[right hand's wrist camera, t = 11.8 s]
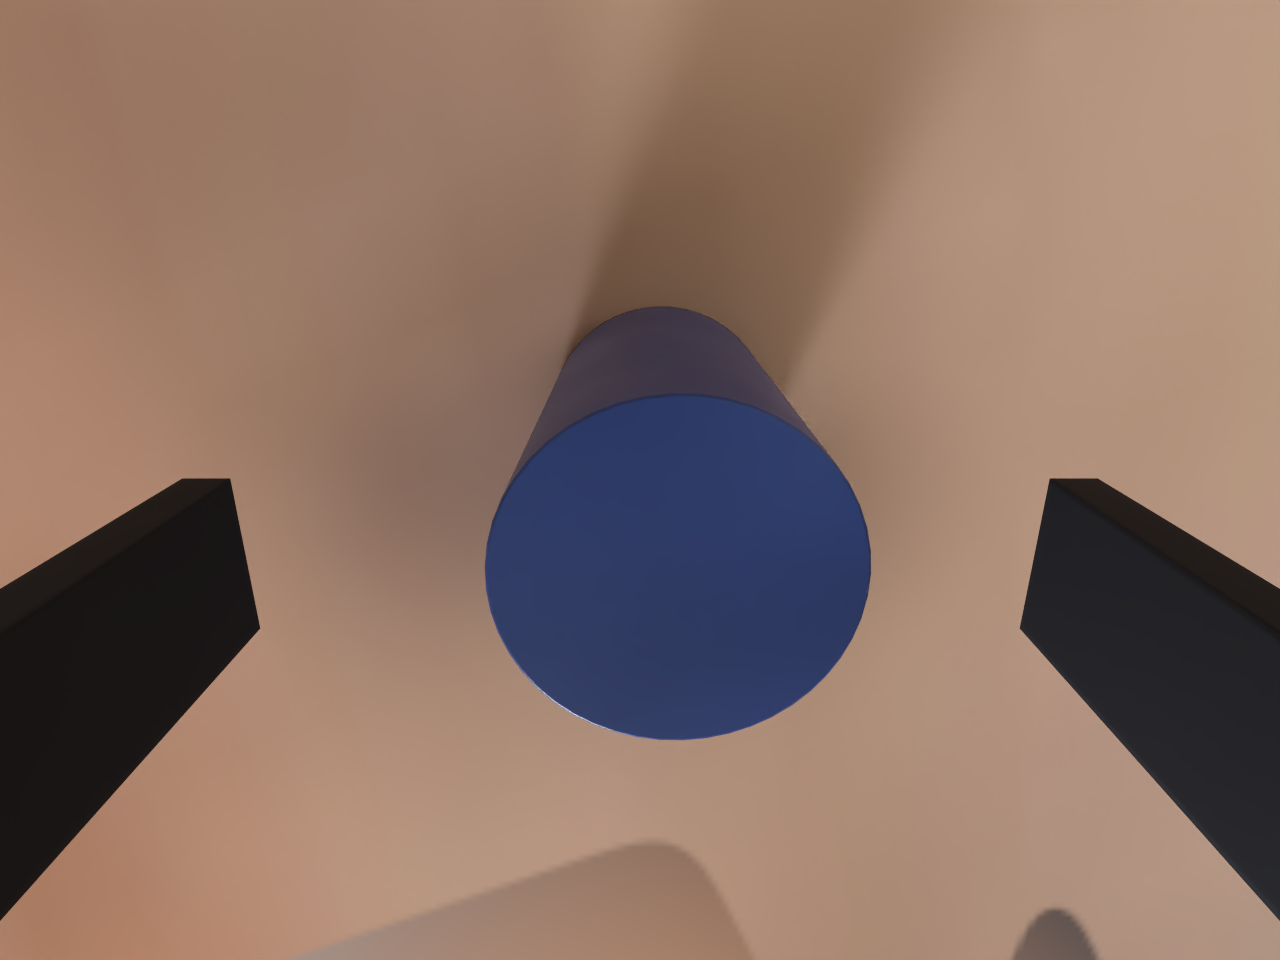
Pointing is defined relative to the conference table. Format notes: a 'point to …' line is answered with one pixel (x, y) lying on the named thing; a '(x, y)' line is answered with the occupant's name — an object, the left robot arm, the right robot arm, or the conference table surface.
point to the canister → (674, 537)
